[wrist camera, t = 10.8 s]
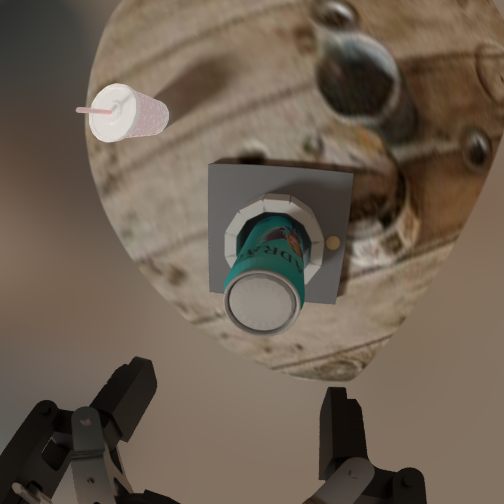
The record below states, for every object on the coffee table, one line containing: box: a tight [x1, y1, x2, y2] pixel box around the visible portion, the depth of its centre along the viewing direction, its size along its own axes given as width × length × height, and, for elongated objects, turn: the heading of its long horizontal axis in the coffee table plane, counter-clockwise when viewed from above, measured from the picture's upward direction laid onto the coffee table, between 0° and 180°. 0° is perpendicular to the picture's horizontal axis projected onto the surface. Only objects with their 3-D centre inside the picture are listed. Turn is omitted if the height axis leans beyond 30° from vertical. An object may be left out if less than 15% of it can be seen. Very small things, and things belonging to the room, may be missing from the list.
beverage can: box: [223, 216, 305, 337], centre depth 25 cm, size 6×6×15 cm
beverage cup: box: [76, 83, 169, 142], centre depth 24 cm, size 6×6×14 cm
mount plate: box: [208, 163, 354, 304], centre depth 31 cm, size 16×16×6 cm
